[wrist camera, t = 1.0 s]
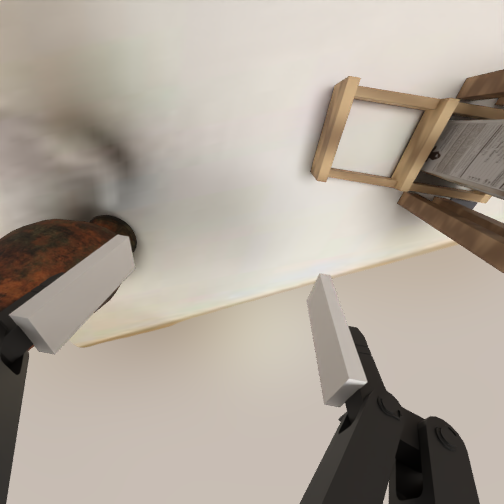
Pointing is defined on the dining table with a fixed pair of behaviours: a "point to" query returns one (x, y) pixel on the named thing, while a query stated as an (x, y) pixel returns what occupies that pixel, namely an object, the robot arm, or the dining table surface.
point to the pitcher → (52, 252)
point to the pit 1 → (465, 203)
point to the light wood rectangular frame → (416, 149)
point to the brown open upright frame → (458, 216)
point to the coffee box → (470, 155)
